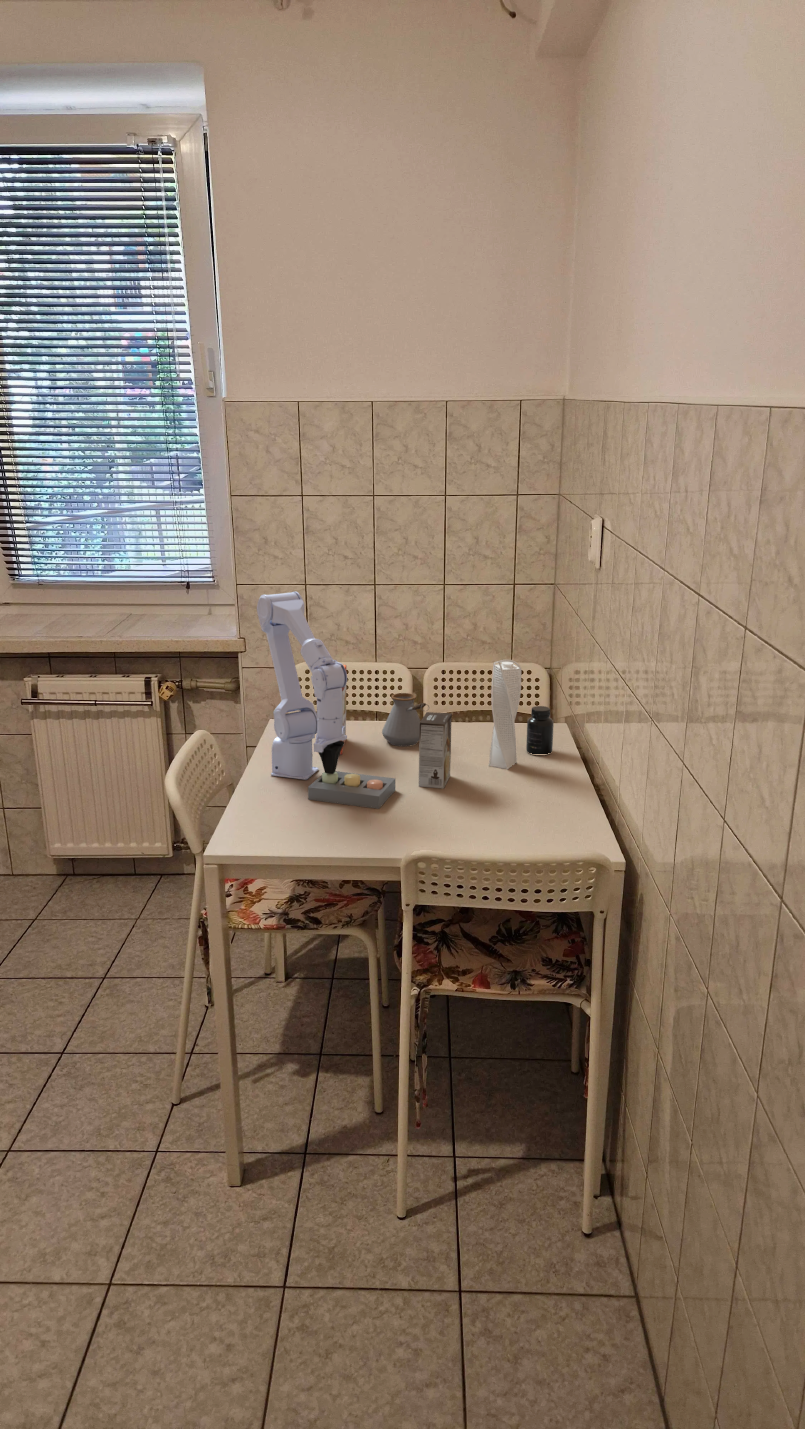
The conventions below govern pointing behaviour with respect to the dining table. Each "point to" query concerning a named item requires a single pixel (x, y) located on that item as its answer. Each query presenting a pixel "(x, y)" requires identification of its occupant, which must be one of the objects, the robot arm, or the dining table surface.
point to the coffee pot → (403, 721)
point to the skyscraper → (504, 712)
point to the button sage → (330, 778)
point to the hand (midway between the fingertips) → (330, 772)
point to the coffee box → (435, 749)
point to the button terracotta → (375, 784)
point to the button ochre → (352, 780)
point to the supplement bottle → (540, 731)
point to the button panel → (352, 791)
